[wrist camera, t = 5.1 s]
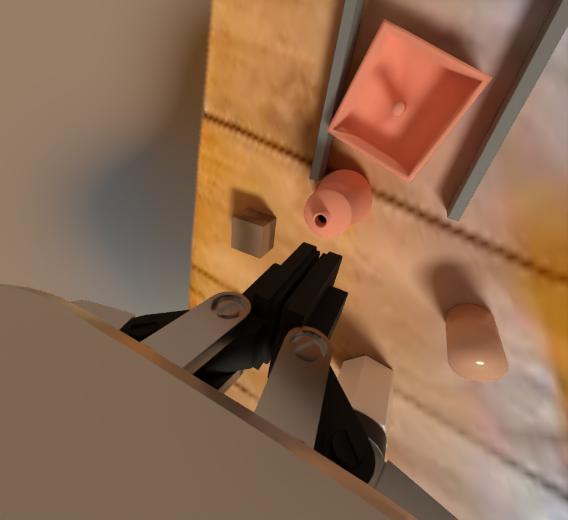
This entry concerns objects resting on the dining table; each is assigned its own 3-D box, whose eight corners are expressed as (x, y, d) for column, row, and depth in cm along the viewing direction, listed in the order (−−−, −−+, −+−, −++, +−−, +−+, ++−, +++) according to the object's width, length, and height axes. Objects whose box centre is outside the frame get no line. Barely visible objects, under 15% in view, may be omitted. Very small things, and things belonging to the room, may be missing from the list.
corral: (625, -96, 17) (651, -124, 15) (456, 213, 28) (458, 221, 26) (372, -87, 21) (366, -108, 19) (316, 174, 33) (309, 178, 31)
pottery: (390, 30, 24) (371, -7, 16) (484, 82, 23) (510, 68, 15) (302, 195, 35) (266, 219, 27) (362, 236, 34) (342, 273, 26)
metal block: (277, 217, 38) (263, 227, 35) (273, 247, 41) (260, 258, 38) (247, 208, 40) (231, 216, 37) (246, 237, 43) (231, 247, 39)
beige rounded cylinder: (504, 314, 30) (520, 359, 25) (480, 343, 33) (489, 389, 28) (457, 297, 32) (462, 336, 26) (438, 326, 35) (439, 366, 29)
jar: (334, 373, 47) (310, 438, 38) (353, 346, 42) (331, 413, 33) (382, 402, 45) (369, 478, 36) (407, 377, 40) (400, 457, 31)
